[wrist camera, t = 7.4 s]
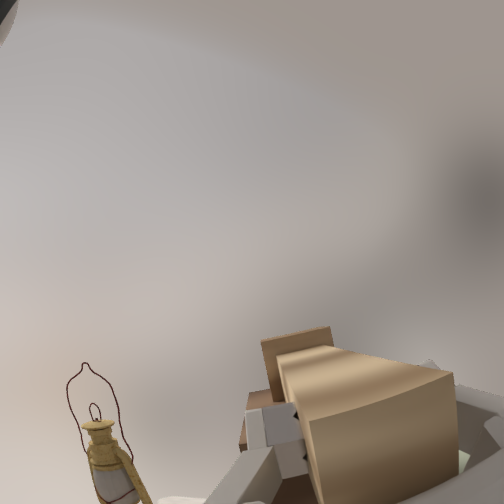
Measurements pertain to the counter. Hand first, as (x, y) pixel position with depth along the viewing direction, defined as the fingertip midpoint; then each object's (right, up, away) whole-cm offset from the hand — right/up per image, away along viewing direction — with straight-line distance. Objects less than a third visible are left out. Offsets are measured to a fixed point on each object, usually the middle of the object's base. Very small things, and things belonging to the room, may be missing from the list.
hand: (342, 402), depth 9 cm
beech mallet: (+1, -3, +5) cm, 6 cm away
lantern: (-21, -40, +24) cm, 51 cm away
